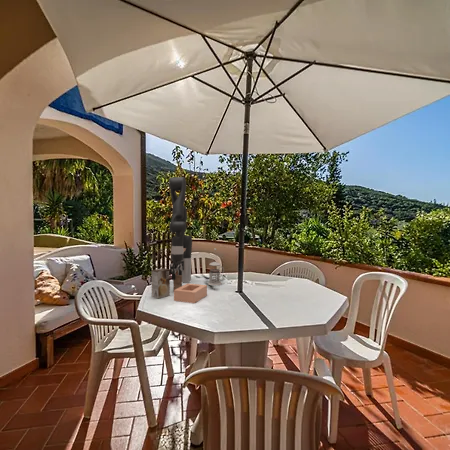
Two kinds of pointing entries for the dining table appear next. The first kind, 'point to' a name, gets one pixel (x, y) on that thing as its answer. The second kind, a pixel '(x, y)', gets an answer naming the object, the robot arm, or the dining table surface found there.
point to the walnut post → (177, 282)
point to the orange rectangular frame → (190, 293)
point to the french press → (215, 271)
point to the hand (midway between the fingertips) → (176, 278)
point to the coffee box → (160, 283)
